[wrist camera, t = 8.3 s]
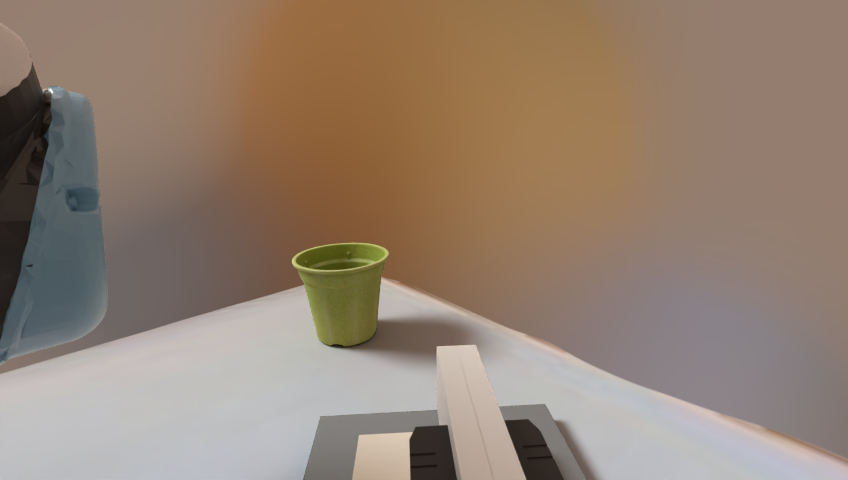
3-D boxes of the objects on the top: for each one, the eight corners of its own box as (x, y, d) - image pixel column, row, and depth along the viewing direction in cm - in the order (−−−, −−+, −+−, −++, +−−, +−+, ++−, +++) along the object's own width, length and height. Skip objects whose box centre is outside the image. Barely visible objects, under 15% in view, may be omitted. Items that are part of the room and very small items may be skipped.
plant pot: (325, 369, 35) (316, 277, 33) (287, 330, 43) (278, 253, 40) (409, 336, 41) (407, 256, 39) (363, 307, 48) (359, 238, 46)
